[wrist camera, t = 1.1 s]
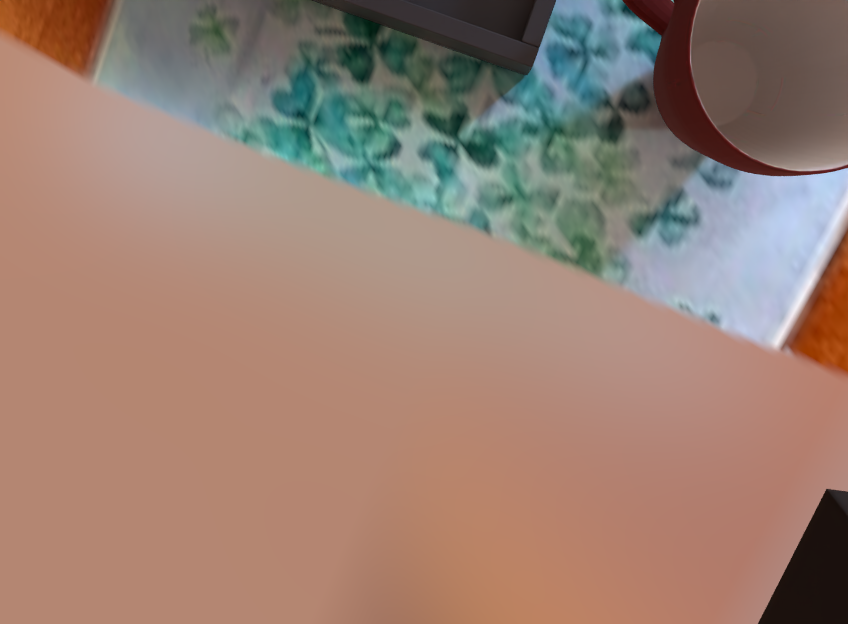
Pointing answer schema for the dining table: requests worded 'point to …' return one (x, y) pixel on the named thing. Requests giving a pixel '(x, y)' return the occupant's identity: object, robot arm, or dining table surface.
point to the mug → (754, 80)
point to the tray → (465, 25)
